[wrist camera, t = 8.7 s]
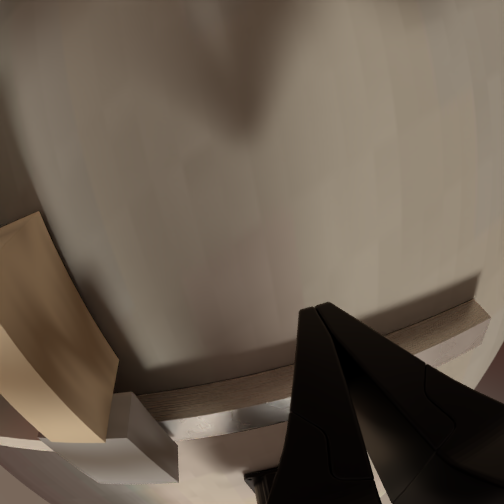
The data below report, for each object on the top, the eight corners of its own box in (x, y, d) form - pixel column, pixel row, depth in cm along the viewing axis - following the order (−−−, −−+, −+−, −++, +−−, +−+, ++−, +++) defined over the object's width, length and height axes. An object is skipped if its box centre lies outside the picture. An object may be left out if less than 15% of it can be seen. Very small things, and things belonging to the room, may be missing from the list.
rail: (465, 325, 18) (481, 343, 16) (39, 421, 17) (33, 443, 15) (473, 298, 16) (491, 317, 15) (19, 402, 15) (12, 424, 14)
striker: (177, 415, 17) (179, 485, 12) (106, 422, 16) (98, 485, 12) (58, 202, 10) (-7, 271, 6) (-23, 238, 10) (-82, 301, 6)
